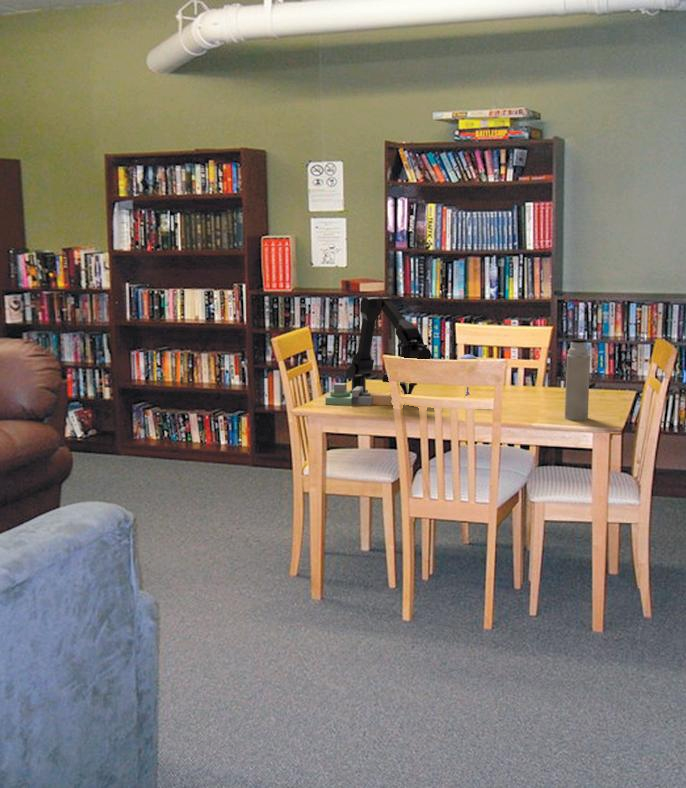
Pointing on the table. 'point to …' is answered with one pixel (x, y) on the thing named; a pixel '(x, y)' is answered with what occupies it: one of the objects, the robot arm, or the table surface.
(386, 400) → the chute
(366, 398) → the deck
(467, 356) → the baby rattle
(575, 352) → the thermos bottle
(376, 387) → the table surface
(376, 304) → the robot arm
